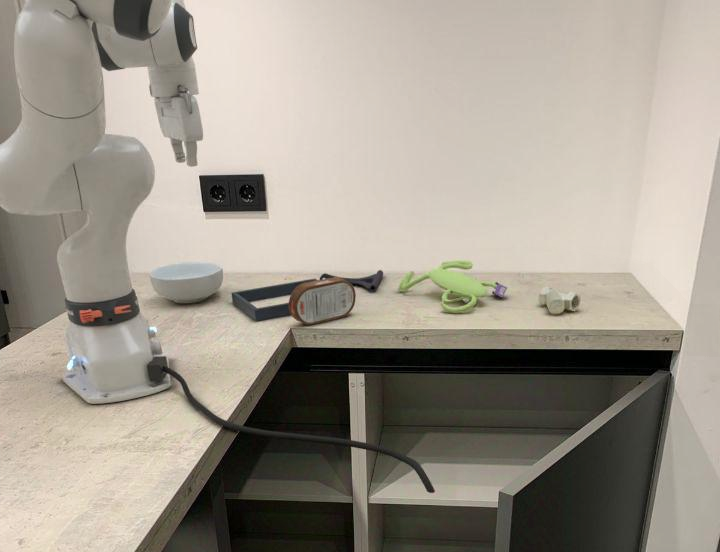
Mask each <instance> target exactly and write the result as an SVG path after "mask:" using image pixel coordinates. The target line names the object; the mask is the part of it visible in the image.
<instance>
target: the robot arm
mask: <svg viewBox="0 0 720 552" xmlns="http://www.w3.org/2000/svg"><path fill="white" fill-rule="evenodd" d="M23 2H24V3H23V7H22V8H21V11H20V12H19V14H18V16H17V18H16V20H15V25H14V35H13V36H14V37H13V38H14V39H13V60H14V70H15V75H16V82H17V87H18V92H19V99H20V106H21V120H20V122H19V124H18V126H17V128H16V130H15V131H14V132H13V133H12V134H11V135H10V136H9V137H8V138H7V139H6V140H5V141H3V142H2V143H1V144H0V208H1V209H3V210H4V211H5V212H7V213H8V214H14V215H23V216H24V215H25V216H49V215H57V214H66V213H75V212H85V213H86V221H85V223H84V224H83V226H82V227H81V228H80V229H79V230H77V231H76V232H74V233H73V234H72V235H70V236H69V237H67V238H66V239H65V240H64V241H63V242H62V243H61V244H60V246H59V247H58V250H57V253H56V262H57V266H58V270H59V273H60V277H61V281H62V286H63V289H64V293H65V298H64V305H65V306H64V307H65V311H66V313H67V317H68V320H69V322H70V323H69V326H68V327H67V329H66V330H65V331H64V332H63V338H64V341H65V346H66V350H67V355H68V360H69V362H68V363H67V365H66V368H67V370H68V371H67V372H66V373H63V374H62V381H63V383H65V384H66V385H67V386H68V387H69V388H70V389H71V390H72V391H73V392H74V393H76V394H77V395H78V396H79V397H81V398H82V399H83V400H84V401H85V402H86V403H88V404H89V405H91V404H93V405H94V404H95V405H96V404H97V405H99V404H109V403H117V402H122V401H128V400H133V399H137V398H141V397H146V396H150V395H153V394H157V393H160V392H161V391H165V390H167V389H169V388H170V387H171V386H172V382H171V381H172V380H171V377H173V378H174V379H175V380H176V381H178V382H179V384H180V385H181V388H182V391H183V393H184V395H185V396H186V398H187V400H188V401H189V402H190V403H191V404H192V406H194V407H195V408H196V409H197V410H198V411H200V412H201V413H202V414H204V415H205V416H206V417H207V418H208V419H210V420H211V421H212V422H214V423H215V424H218V425H220V426H222V427H224V428H227V429H229V430H233V431H237V432H240V433H245V434H249V435H253V436H259V437H263V438H264V437H266V438H270V439H271V438H272V439H281V440H291V441H299V442H300V441H301V442H307V443H308V442H309V443H317V444H328V445H336V446H344V447H351V448H356V449H361V450H367V451H371V452H375V453H380V454H384V455H387V456H390V457H391V458H394V459H396V460H398V461H400V462H402V463H403V464H406V465H408V466H409V467H411V468H412V469H413V470H414V471H415V473H416V474H417V475H418V477H419V479H420V481H421V482H422V484H423V486H424V488H425V490H426V492H428V493H429V494H434V493H435V492H436V491H435V490H436V489H435V487H434V485H433V484H432V482H431V480H430V478H429V476H428V475H427V473H426V471H425V470H424V468H423V467H422V465H421V464H420V463H419V462H418V461H416V460H415V459H413V458H412V457H409V456H407V455H406V454H403V453H401V452H399V451H397V450H395V449H391V448H389V447H386V446H382V445H378V444H373V443H368V442H363V441H357V440H352V439H346V438H339V437H331V436H319V435H311V434H303V433H302V434H301V433H294V432H293V433H292V432H290V433H289V432H282V431H274V430H266V429H260V428H255V427H249V426H245V425H240V424H237V423H233V422H230V421H228V420H225V419H223V418H221V417H219V416H217V415H216V414H214V413H213V412H212V411H211V410H210V409H208V408H207V407H206V406H205V405H203V404H202V403H200V401H198V400H197V398H195V397H194V396H193V394H192V393H191V391H190V389H189V385H188V383H187V382H186V380H185V378H183V376H182V375H181V374H179V373H178V372H177V371H175V370H173V369H172V368H170V360H169V357H168V355H166V354H163V349H162V344H161V341H153V339H155V338H156V336H157V335H156V333H157V330H158V329H157V327H155V326H151V325H150V321H149V318H148V317H146V316H144V315H143V314H141V313H140V311H141V310H140V306H139V299H138V296H137V292H136V290H135V289H134V288H133V287H132V286H133V285H132V281H131V276H130V275H131V274H130V270H129V262H128V253H127V237H128V231H129V229H130V228H129V227H130V225H131V222H132V220H133V218H134V215H135V213H136V212H137V210H138V209H139V207H140V206H141V205H142V203H143V202H144V201H146V200H147V198H148V197H149V196H150V194H151V193H152V191H153V188H154V185H155V179H156V169H155V164H154V160H153V158H152V156H151V153H150V152H149V151H148V149H147V147H146V146H145V145H144V143H142V142H141V140H139V139H138V138H136V137H134V136H128V135H121V134H112V133H105V131H106V127H107V116H106V100H105V99H106V97H105V84H104V74H103V69H104V70H106V71H108V72H112V71H119V70H125V69H135V68H147V73H148V79H149V84H148V88H149V95H150V97H151V98H154V106H155V110H156V115H157V119H158V124H159V128H160V131H161V134H162V135H163V137H164V138H168V139H169V141H170V145H171V148H172V152H173V154H174V159H175V162H176V163H179V164H180V163H181V164H182V163H185V162H186V165H187V166H188V167H191V168H193V167H197V166H198V157H197V155H198V142H200V141H201V142H202V141H203V139H204V130H203V129H204V128H203V123H202V118H201V112H200V107H199V103H198V101H197V100H198V99H197V98H196V97H195V96H197V95H199V94H200V91H199V84H198V78H197V70H196V64H195V61H194V58H193V55H194V54H195V53H196V51H197V50H198V44H197V43H198V42H197V38H196V31H195V30H196V29H195V25H194V24H195V22H194V21H195V19H194V15H192V14H191V13H190V12H189V11H188V10H187V9H186V5H185V2H184V0H23ZM184 148H185V151H184Z"/></svg>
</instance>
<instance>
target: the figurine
mask: <svg viewBox="0 0 720 552" xmlns="http://www.w3.org/2000/svg"><path fill="white" fill-rule="evenodd" d="M473 267H474V265H473V262H471V261H469V260H449V261H448V260H447V261H443V262H442V263H441V265H439V266H437V268H432V269H430V270H429V271H427V273H424V274H422V275H420V276H418V277H416V278H413V277H414V276H415V272H414V271H413V270H410V271H409V272H408V273H407V275H405V277H403V278H402V280H401V281H400V283H399V285H398V288H397V291H398V293H402V292H403V290H404V291H407V290H409V289H411V288H412V287H414V286H416V285H417V284H420V283H421V282H423V281H425V280H427V279H430V280H431V281H432V282H433V283H434V284H435V285H437V286H438V287H440V288H441V289H443V290H446V291H444V292H443V293H442V295H441V302H440V303H441V307H442V309H443V310H444V311H446V312H447V313H451V314H460V313H464V312H467V311H469V310H470V309H472V308H473V307H474V306H475V305H476V304H477V301H478V300H479V298H484V297H486V296H487V294H488V291H487V289H486V287H490V288H493V289H494V290H492V291H491V294H492V295H495V296H498V297H501V298H503V297H505V294H506V292H507V290H508V287H507V286H505V285H503V284H500V283H499V282H498V281H495V282H494V281H486V280H485V281H484V280H483V281H478V280H476V279H475V278H473V277H471V276H469V275H467V274H465V273H462V272H459V271H456V270H451V269H459V270H466V271H470V270H471V269H473ZM412 278H413V279H412ZM451 294H454V295H455V294H456V295H458V296H460V297H457V298H453V299H448V297H449V296H450V295H451ZM461 300H462V301H463V302H464V303H465V305H462V306H458V307H451V306H448V305H447V304H448V303H453V302H457V301H461ZM445 303H446V304H445Z"/></svg>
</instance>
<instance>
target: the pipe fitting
mask: <svg viewBox="0 0 720 552" xmlns="http://www.w3.org/2000/svg"><path fill="white" fill-rule="evenodd" d="M581 300H582V299H581V295H580V294H579V293H577V292H571V291H570V292H567V291H564V290H563V291H562V290H559V289H553V288H552V287H548V286H544V287H542V289H541V290H540V292H539V295H538V303H539V304H541V305H544V306H547V309H548V311H549V313H550V314H552V315H560V314H561V313H563V312H564V310H566V311H569V312H576V311H577V310H578V309H579V307H580V306H581Z"/></svg>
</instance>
